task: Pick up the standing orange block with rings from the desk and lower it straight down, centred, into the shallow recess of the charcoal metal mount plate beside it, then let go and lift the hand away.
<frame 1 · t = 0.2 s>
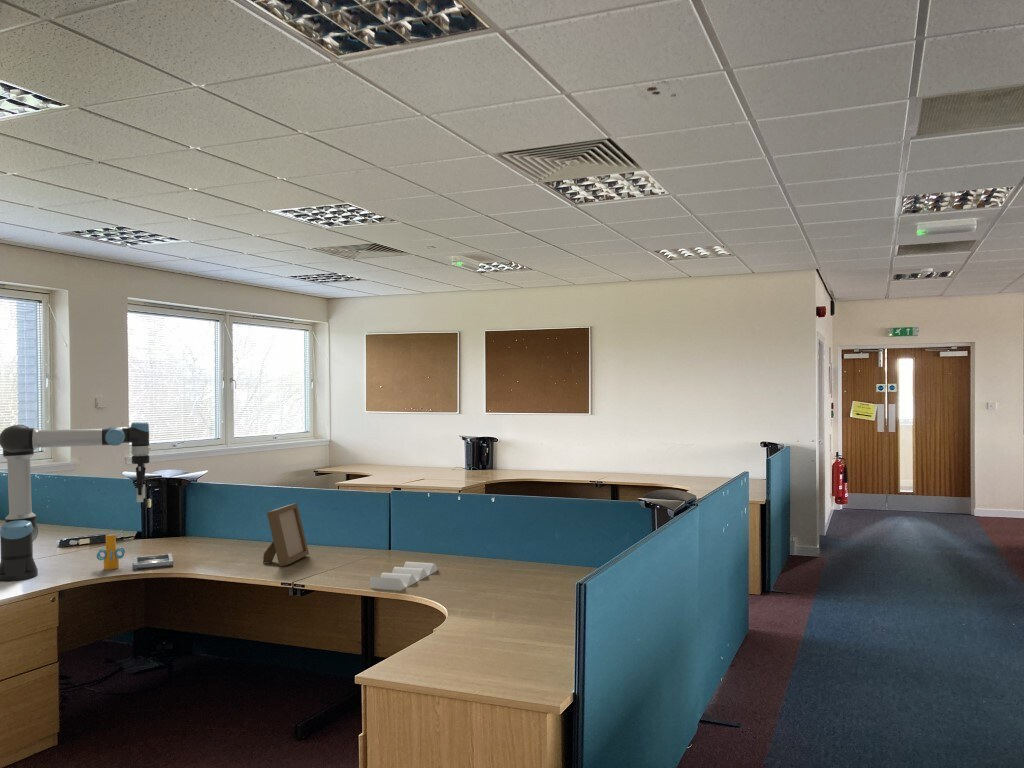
hand: (141, 500, 369), 28 cm above the table, tool pointing down, fingers open, 13 cm apart
orange block with rings: (111, 568, 350), on the table
photo frame: (283, 561, 359), on the table
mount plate: (153, 564, 357), on the table
white zigzag rack: (406, 580, 322), on the table
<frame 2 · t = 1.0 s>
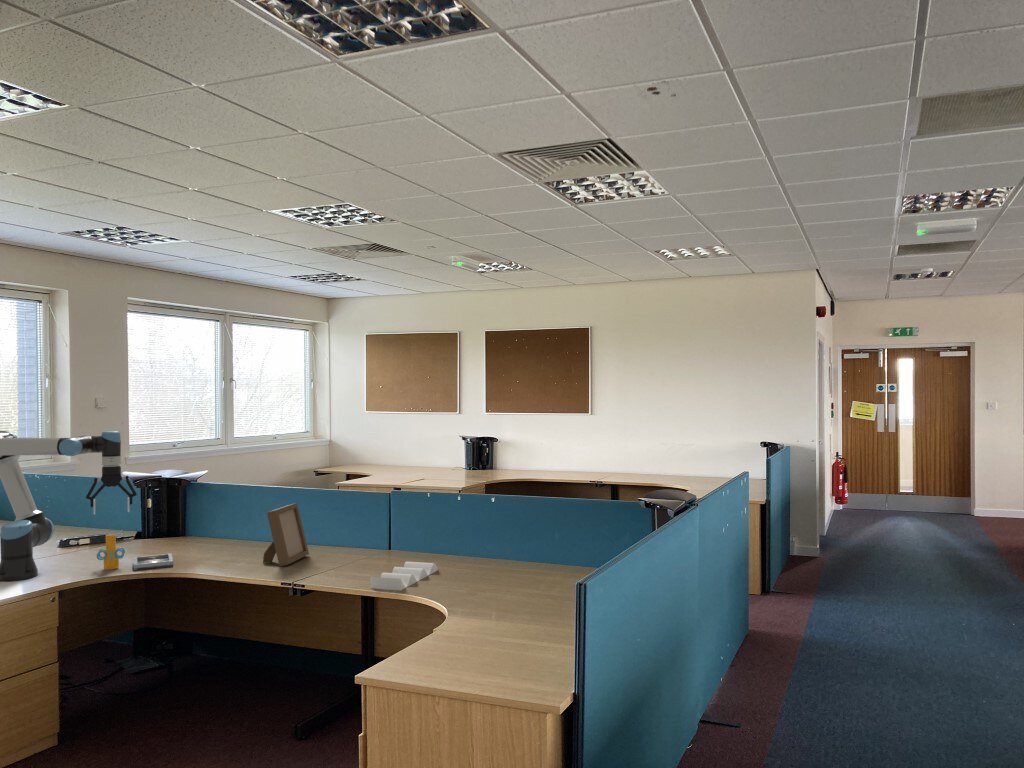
hand: (111, 513, 352), 24 cm above the table, tool pointing down, fingers open, 13 cm apart
nothing on the table moved.
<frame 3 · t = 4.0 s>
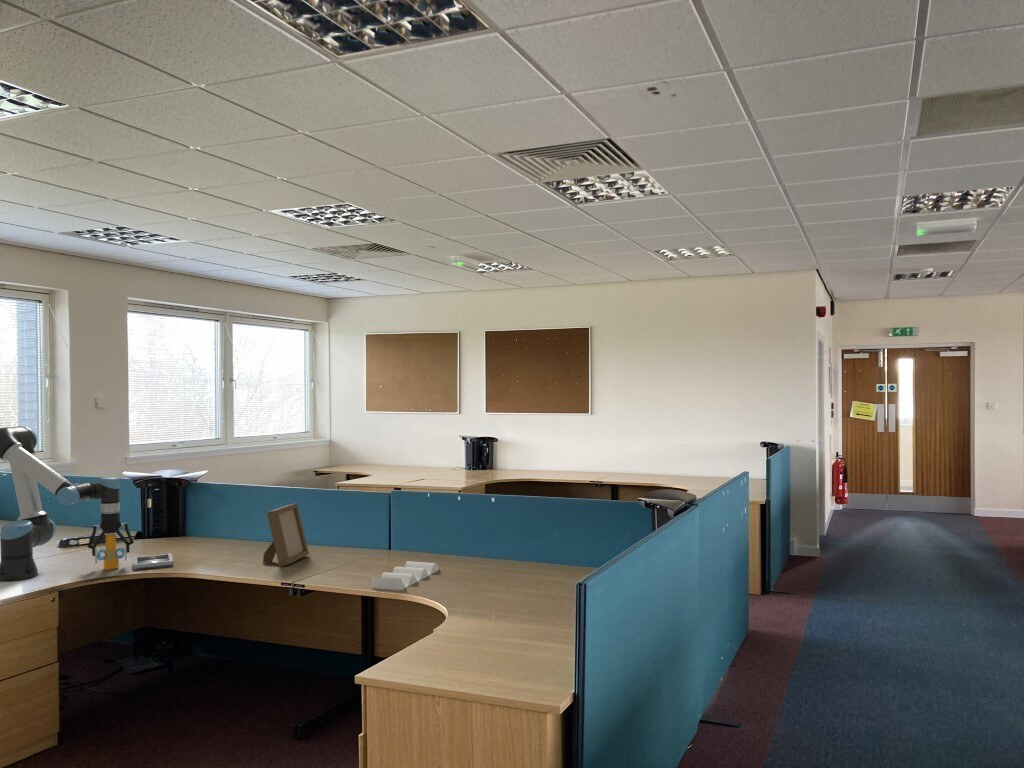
hand: (111, 561, 350), 3 cm above the table, tool pointing down, fingers closed on orange block with rings, 11 cm apart
orange block with rings: (111, 568, 350), on the table, touching gripper
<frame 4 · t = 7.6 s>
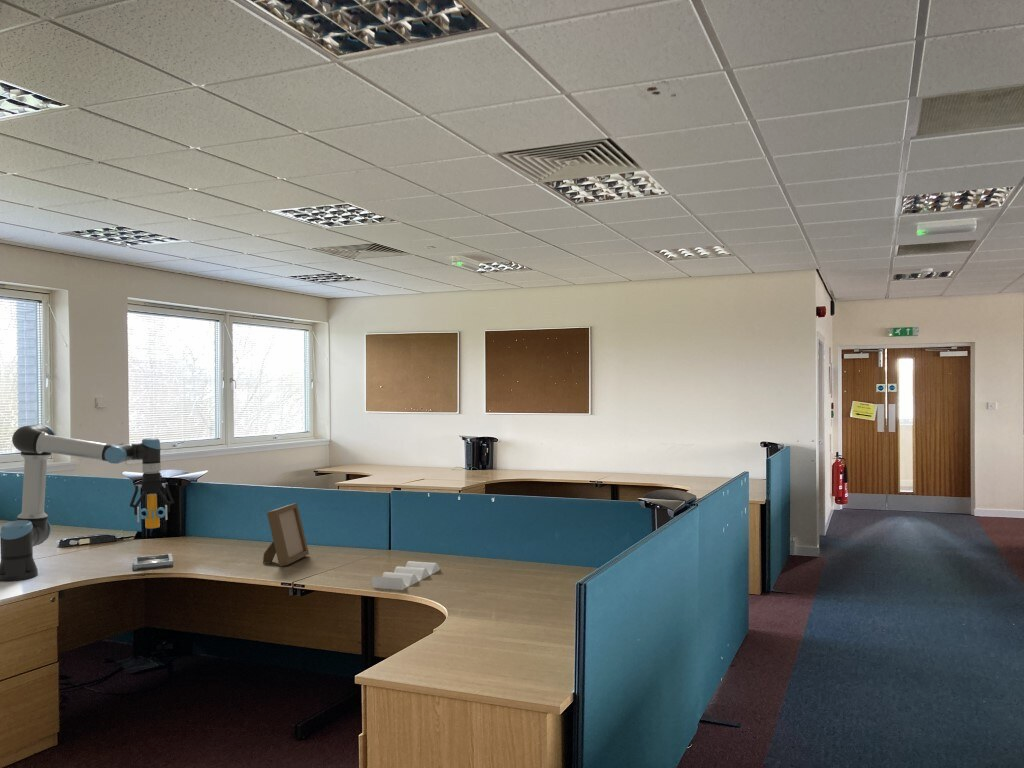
hand: (152, 520, 357), 20 cm above the table, tool pointing down, fingers closed on orange block with rings, 11 cm apart
orange block with rings: (152, 527, 357), point 17 cm above the table, touching gripper
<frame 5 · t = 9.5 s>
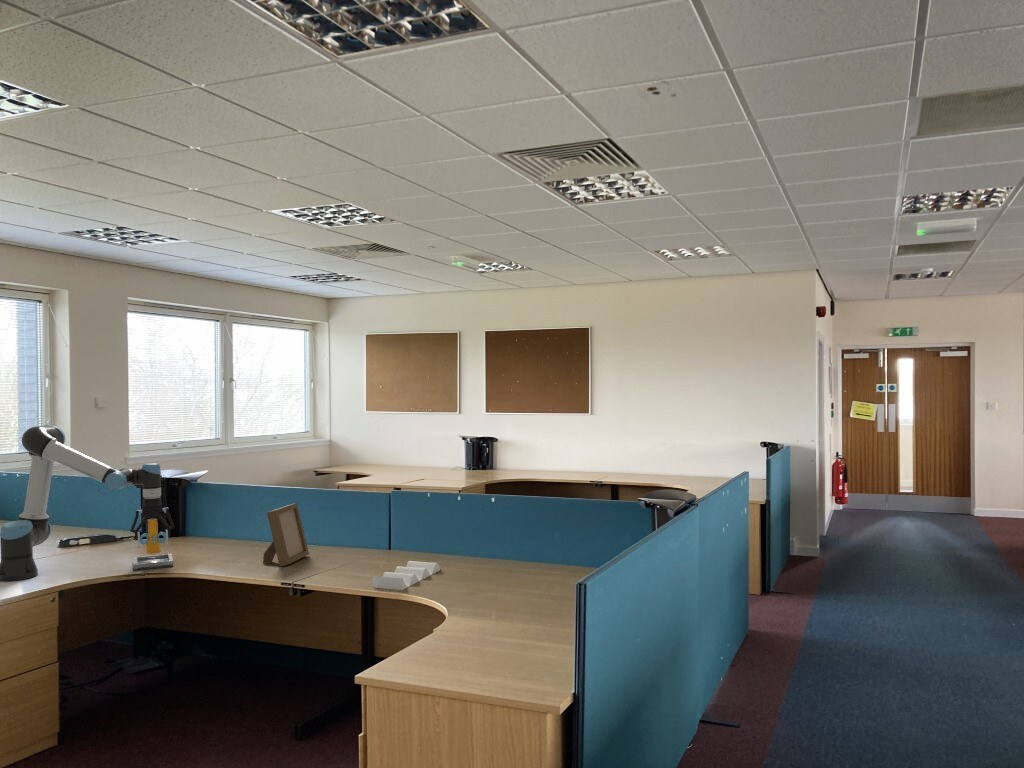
hand: (153, 545, 357), 8 cm above the table, tool pointing down, fingers closed on orange block with rings, 11 cm apart
orange block with rings: (153, 552, 357), point 5 cm above the table, touching gripper
when the fingers open (5 cm above the table, at t = 11.2 s): orange block with rings drops 1 cm, resting on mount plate.
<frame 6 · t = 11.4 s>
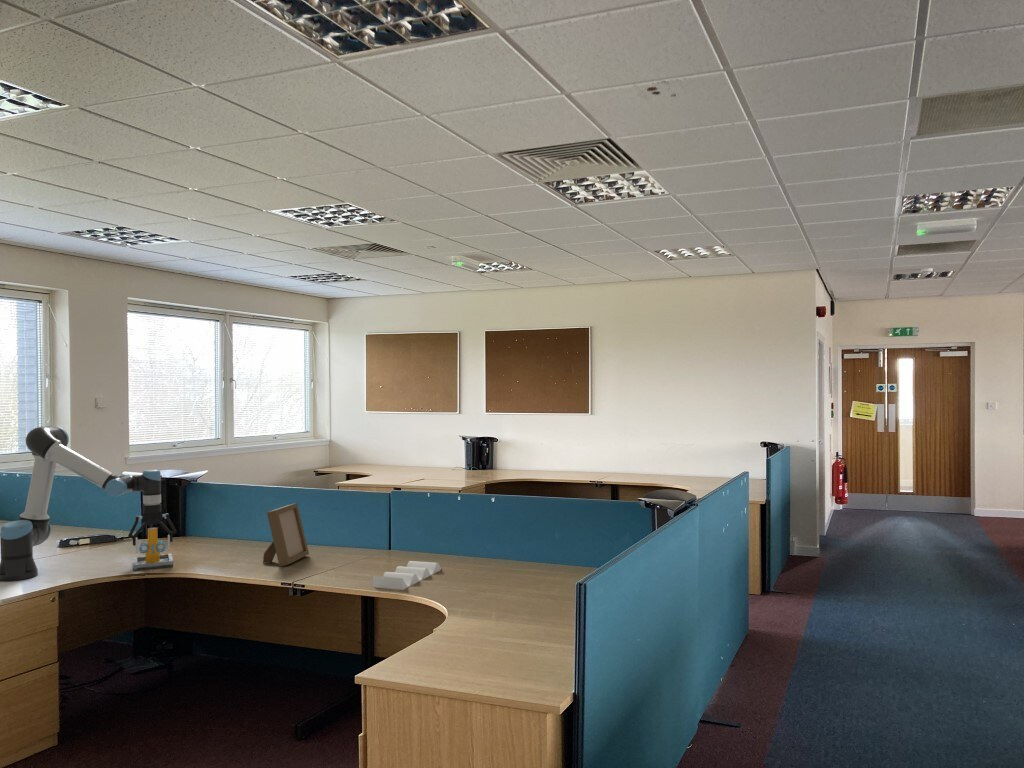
hand: (153, 551, 357), 6 cm above the table, tool pointing down, fingers open, 13 cm apart
orange block with rings: (152, 562, 357), point 1 cm above the table, touching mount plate
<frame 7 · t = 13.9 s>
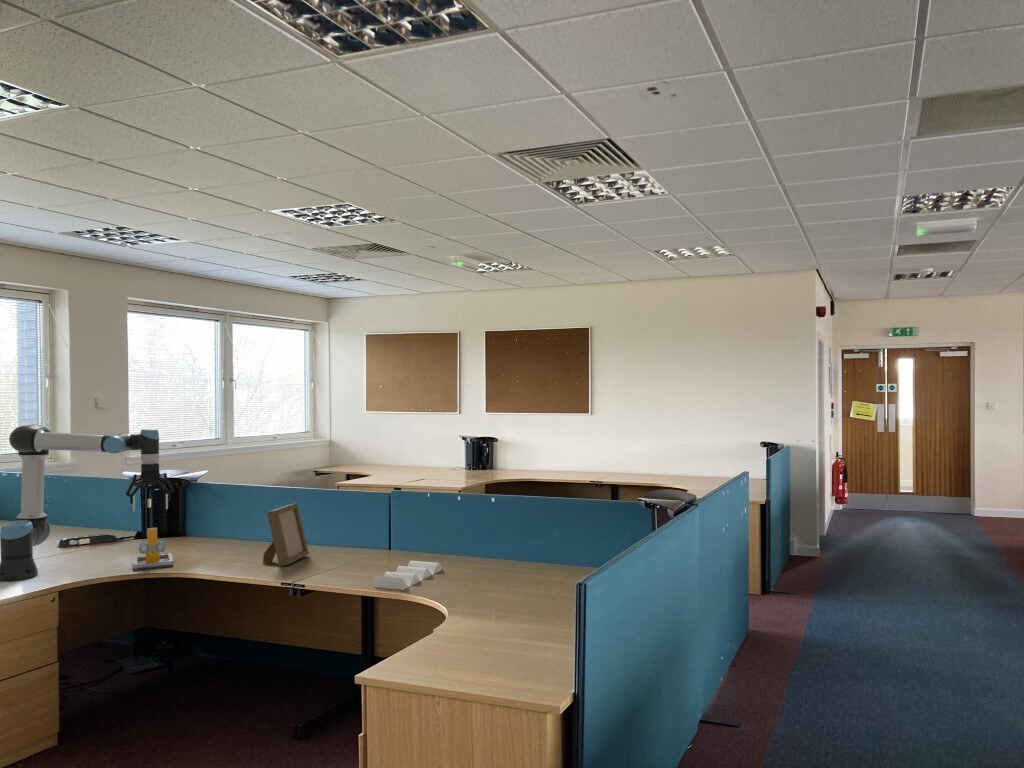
hand: (150, 509, 357), 25 cm above the table, tool pointing down, fingers open, 13 cm apart
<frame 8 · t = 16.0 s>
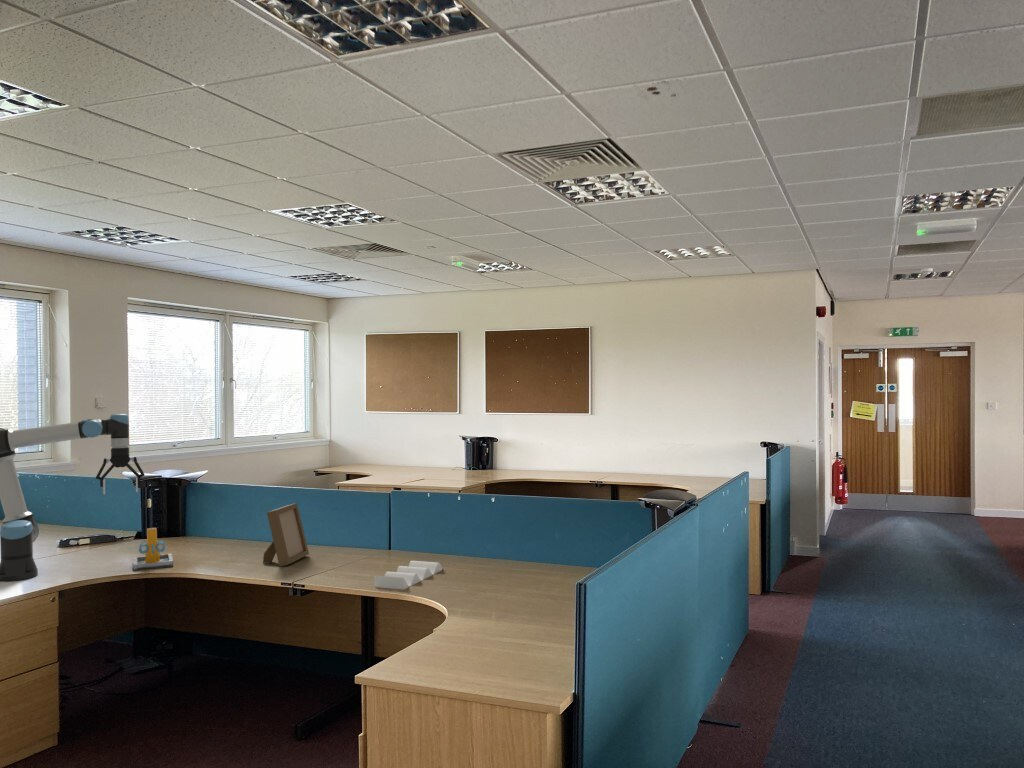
hand: (120, 493, 365), 32 cm above the table, tool pointing down, fingers open, 13 cm apart
at the end: orange block with rings 0.2 cm off-centre on the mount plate, point 1.1 cm above the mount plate's base; orange block with rings tilted 1°; the gripper is holding nothing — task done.
